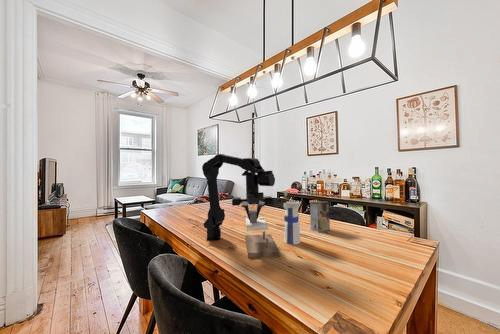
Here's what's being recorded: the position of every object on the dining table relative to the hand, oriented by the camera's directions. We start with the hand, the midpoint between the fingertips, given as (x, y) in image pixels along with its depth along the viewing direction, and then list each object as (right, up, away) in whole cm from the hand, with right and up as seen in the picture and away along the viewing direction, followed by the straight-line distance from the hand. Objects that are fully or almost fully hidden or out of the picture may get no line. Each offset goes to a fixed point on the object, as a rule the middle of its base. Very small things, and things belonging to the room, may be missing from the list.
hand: (253, 219), depth 98 cm
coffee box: (+39, -12, +25) cm, 48 cm away
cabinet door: (+1, -3, 0) cm, 3 cm away
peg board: (+4, -13, +1) cm, 13 cm away
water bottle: (+19, -13, +7) cm, 24 cm away
